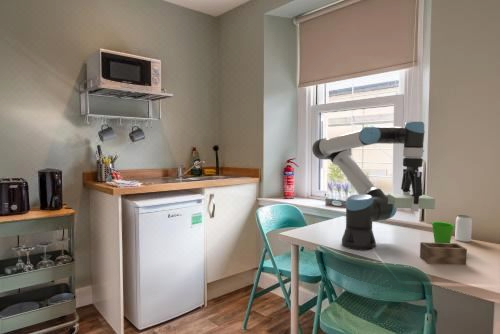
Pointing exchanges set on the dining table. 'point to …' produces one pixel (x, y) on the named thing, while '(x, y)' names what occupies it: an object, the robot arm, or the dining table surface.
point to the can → (463, 228)
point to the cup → (442, 232)
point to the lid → (406, 200)
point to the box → (443, 253)
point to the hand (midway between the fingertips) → (410, 208)
